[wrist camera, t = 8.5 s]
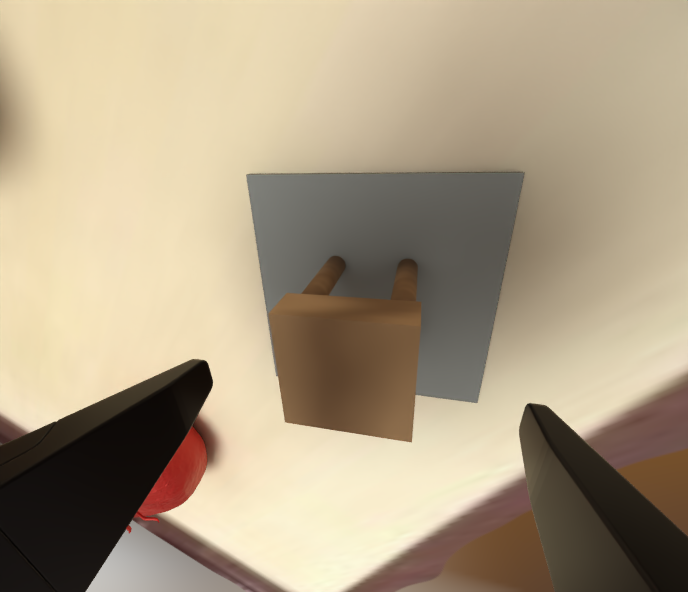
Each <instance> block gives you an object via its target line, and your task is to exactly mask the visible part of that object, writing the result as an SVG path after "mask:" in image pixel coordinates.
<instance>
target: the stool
mask: <svg viewBox="0 0 688 592" xmlns="http://www.w3.org/2000/svg"><path fill="white" fill-rule="evenodd" d="M345 267H346V265H345V261H344V260H343V259H342V258H341V257H339V256H332V257H330V258H329V259H328V260H327V262H326V263H325V264H324V265H323V267H322V268H321V269H320V270H319V272H318V273H317V274H316V276H315V277H314V278H313V279H312V281H311V282H310V283H309V284H308V286H307V287H306V288H305V289H304V291H303V292H302V293H301V294H296V293H286V294H285V296H284V297H283V298H282V299H281V300H280V301H279V302H278V303H277V305H276V306H275V307H274V308H273V309H272V310H271V311H270V312H269V313H268V315H269V322H270V328H271V334H272V341H273V347H274V353H275V360H276V366H277V373H278V379H279V385H280V392H281V398H282V404H283V411H284V417H285V422H286V423H293V424H299V425H305V426H312V427H318V428H324V429H331V430H337V431H343V432H350V433H356V434H362V435H368V436H375V437H381V438H387V439H394V440H400V441H406V442H412V431H413V419H414V406H415V394H416V381H417V369H418V356H419V344H420V331H421V302H417V301H416V294H417V275H418V266H417V263H416V262H415V261H414V260H412V259H403V260H401V261H400V262H399V264H398V267H397V271H396V276H395V281H394V286H393V290H392V295H391V300H387V299H372V298H357V297H341V296H329V294H330V293H331V291H332V289H333V288H334V286H335V284H336V283H337V281H338V280H339V278H340V276H341V275H342V273H343V271H344V270H345Z"/></svg>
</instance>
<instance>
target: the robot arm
mask: <svg viewBox="0 0 688 592" xmlns="http://www.w3.org/2000/svg"><path fill="white" fill-rule="evenodd" d="M212 386H213V379H212V376H211V372H210V369H209V365H208V363H207V362H206V361H205V360H199V359H192V360H189V361H187V362H185V363H183V364H181V365H178V366H176V367H174V368H172V369H170V370H167V371H165V372H163V373H161V374H159V375H156V376H154V377H152V378H150V379H148V380H145V381H143V382H141V383H139V384H137V385H134V386H132V387H130V388H128V389H126V390H123V391H121V392H119V393H117V394H115V395H112V396H110V397H108V398H106V399H104V400H101V401H99V402H97V403H95V404H93V405H90V406H88V407H86V408H84V409H82V410H79V411H77V412H75V413H73V414H71V415H68V416H66V417H64V418H62V419H60V420H58V421H57V422H53V423H51V424H48V425H46V426H44V427H42V428H40V429H37V430H35V431H33V432H31V433H28V434H26V435H24V436H21V437H19V438H17V439H15V440H12V441H10V442H8V443H5V444H3V445H0V592H85V591H86V590H87V589H88V587H89V585H90V584H91V582H92V581H93V579H94V578H95V576H96V575H97V573H98V571H99V570H100V568H101V567H102V565H103V564H104V562H105V561H106V559H107V558H108V556H109V554H110V553H111V552H112V550H113V548H114V547H115V545H116V544H117V542H118V541H119V539H120V538H121V536H122V534H123V533H124V532H125V530H126V528H127V527H128V525H129V524H130V522H131V521H132V519H133V518H134V516H135V515H136V513H137V511H138V510H139V508H140V507H141V505H142V504H143V502H144V501H145V499H146V498H147V496H148V495H149V493H150V491H151V490H152V488H153V487H154V485H155V484H156V482H157V481H158V479H159V478H160V476H161V474H162V473H163V471H164V470H165V468H166V467H167V465H168V464H169V462H170V461H171V459H172V458H173V456H174V454H175V453H176V451H177V450H178V448H179V447H180V445H181V444H182V442H183V441H184V439H185V437H186V436H187V434H188V432H189V431H190V429H191V427H192V425H193V423H194V421H195V419H196V418H197V416H198V414H199V412H200V410H201V408H202V406H203V404H204V402H205V400H206V398H207V397H208V395H209V393H210V391H211V389H212ZM519 436H520V443H521V449H522V455H523V461H524V468H525V474H526V480H527V487H528V492H529V498H530V502H531V506H532V510H533V514H534V517H535V521H536V525H537V528H538V532H539V535H540V539H541V543H542V546H543V550H544V553H545V557H546V561H547V564H548V568H549V572H550V575H551V579H552V583H553V586H554V590H555V592H688V536H687V535H686V534H685V533H684V532H682V531H681V530H680V529H679V528H678V527H677V526H676V525H675V524H674V523H673V522H672V521H671V520H669V519H668V518H667V517H666V516H665V515H664V514H663V513H662V512H661V511H660V510H659V509H658V508H656V507H655V506H654V505H653V504H652V503H651V502H650V501H649V500H648V499H647V498H646V497H645V496H644V495H643V494H641V493H640V492H639V491H638V490H637V489H636V488H635V487H634V486H633V485H632V484H630V482H629V481H627V480H626V479H625V478H624V477H623V476H622V475H621V474H620V473H619V472H618V471H617V470H616V469H614V468H613V467H612V466H611V465H610V464H609V463H608V462H607V461H606V460H605V459H604V458H603V457H602V456H600V455H599V454H598V453H597V452H596V451H595V450H594V449H593V448H592V447H591V446H590V445H589V444H588V443H586V442H585V441H584V440H583V439H582V438H581V437H580V436H579V435H578V434H577V433H576V432H575V431H574V430H572V429H571V428H570V427H569V426H568V425H567V424H566V423H565V422H564V421H563V420H562V419H561V418H559V417H558V416H557V415H556V414H555V413H554V412H553V411H552V410H551V409H550V408H549V407H547V406H545V405H541V404H533V403H529V404H527V405H526V407H525V410H524V413H523V417H522V420H521V423H520V428H519Z"/></svg>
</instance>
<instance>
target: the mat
mask: <svg viewBox="0 0 688 592" xmlns="http://www.w3.org/2000/svg"><path fill="white" fill-rule="evenodd" d="M246 176H247V183H248V190H249V196H250V203H251V210H252V216H253V223H254V230H255V236H256V243H257V250H258V257H259V263H260V270H261V277H262V283H263V290H264V297H265V303H266V310H267V317H268V324H269V330H270V337H271V344H272V350H273V357H274V364H275V370H276V376H278V373H277V366H276V360H275V353H274V347H273V341H272V334H271V328H270V322H269V315H268V313H269V312H270V311H271V310H272V309H273V308H274V307H275V306H276V305H277V303H278V302H279V301H280V300H281V299H282V298H283V297H284V296H285V294H286V293H296V294H301V293H302V292H303V291H304V289H305V288H306V287H307V286H308V284H309V283H310V282H311V281H312V279H313V278H314V277H315V276H316V274H317V273H318V272H319V270H320V269H321V268H322V267H323V265H324V264H325V263H326V262H327V260H328V259H329V258H330V257H332V256H339V257H341V258H342V259H343V260H344V261H345V265H346V267H345V270H344V271H343V273H342V275H341V276H340V278H339V280H338V281H337V283H336V284H335V286H334V288H333V289H332V291H331V293H330V294H329V296H341V297H357V298H372V299H387V300H391V295H392V290H393V286H394V281H395V276H396V271H397V267H398V264H399V262H400V261H401V260H403V259H412V260H414V261H415V262H416V263H417V266H418V275H417V294H416V301H417V302H421V331H420V344H419V356H418V369H417V381H416V394H415V395H421V396H428V397H436V398H443V399H451V400H458V401H466V402H473V403H477V402H478V397H479V392H480V387H481V383H482V378H483V373H484V368H485V363H486V358H487V353H488V348H489V344H490V339H491V334H492V329H493V324H494V319H495V314H496V309H497V305H498V300H499V295H500V290H501V285H502V280H503V275H504V270H505V266H506V261H507V256H508V251H509V246H510V241H511V236H512V231H513V227H514V222H515V217H516V212H517V207H518V202H519V197H520V192H521V188H522V183H523V178H524V172H449V173H318V174H247V175H246Z"/></svg>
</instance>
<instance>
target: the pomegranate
mask: <svg viewBox="0 0 688 592" xmlns="http://www.w3.org/2000/svg"><path fill="white" fill-rule="evenodd" d="M206 466H207V454H206V447H205V444H204V441H203V439H202V438H201V436H200V435H199V434H198V432H197V431H196V430H195V429H194V428H193V426H192V427H191V429H190V431H189V432H188V434H187V436H186V437H185V439H184V441H183V442H182V444H181V445H180V447H179V448H178V450H177V451H176V453H175V454H174V456H173V458H172V459H171V461H170V462H169V464H168V465H167V467H166V468H165V470H164V471H163V473H162V474H161V476H160V478H159V479H158V481H157V482H156V484H155V485H154V487H153V488H152V490H151V491H150V493H149V495H148V496H147V498H146V499H145V501H144V502H143V504H142V505H141V507H140V508H139V510H138V511H137V513H136V515H135V516H134V517H141V518H142V519H143V520H145V521H148V520H156V521H158V523H159V520H158V518H155V517H145V516H150V515H153V514H157V513H162V512H166V511H169V510H171V509H173V508H175V507H178V506H179V505H181V504H183V503H184V502H185V501H186V500H187V499H188V498H189V497H190V496H191V495H192V494H193V492H194V491H195V489H196V487H197V486H198V484H199V482H200V481H201V478H202V476H203V474H204V472H205V470H206ZM126 529H127V530H128V531H129V533H130V532H131V527H130V526H129V525H128V527H127V528H126Z"/></svg>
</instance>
